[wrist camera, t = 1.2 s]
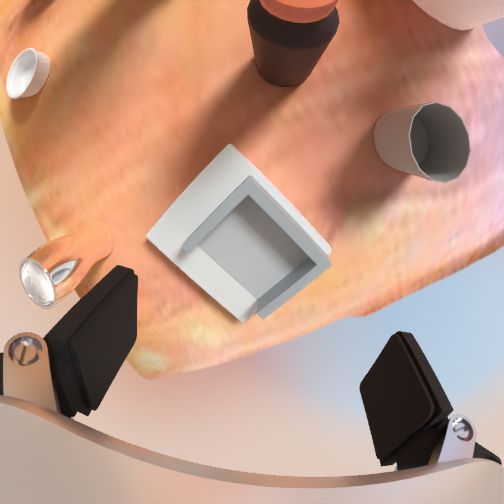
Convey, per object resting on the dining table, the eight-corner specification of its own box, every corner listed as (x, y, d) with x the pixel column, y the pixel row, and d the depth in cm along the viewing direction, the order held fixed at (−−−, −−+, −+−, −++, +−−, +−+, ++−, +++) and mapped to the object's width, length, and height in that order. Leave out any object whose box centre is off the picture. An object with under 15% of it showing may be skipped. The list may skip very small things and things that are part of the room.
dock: (152, 230, 37) (134, 245, 32) (231, 143, 32) (223, 143, 27) (244, 312, 41) (240, 338, 36) (328, 243, 36) (338, 262, 31)
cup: (401, 183, 32) (441, 199, 23) (360, 138, 31) (393, 138, 21) (436, 142, 30) (480, 147, 20) (398, 97, 28) (438, 86, 19)
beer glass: (84, 211, 36) (17, 246, 23) (120, 227, 37) (57, 272, 23) (79, 249, 39) (20, 294, 25) (112, 266, 40) (57, 320, 26)
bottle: (260, 37, 26) (248, -59, 8) (314, 45, 26) (358, -41, 8) (252, 83, 29) (231, 14, 11) (308, 92, 29) (356, 34, 11)
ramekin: (18, 100, 29) (1, 101, 25) (28, 55, 26) (13, 53, 22) (46, 97, 30) (29, 96, 26) (59, 48, 26) (42, 43, 22)
